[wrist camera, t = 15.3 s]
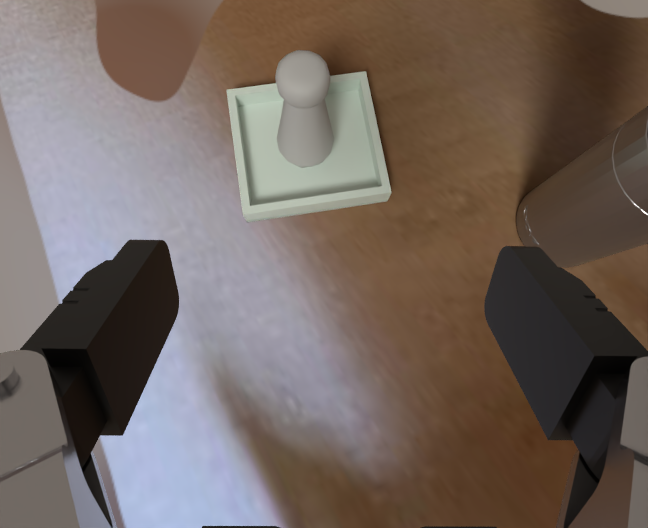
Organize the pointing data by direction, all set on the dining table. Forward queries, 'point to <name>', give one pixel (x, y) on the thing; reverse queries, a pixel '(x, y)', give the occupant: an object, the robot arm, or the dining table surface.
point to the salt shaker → (304, 109)
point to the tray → (317, 181)
